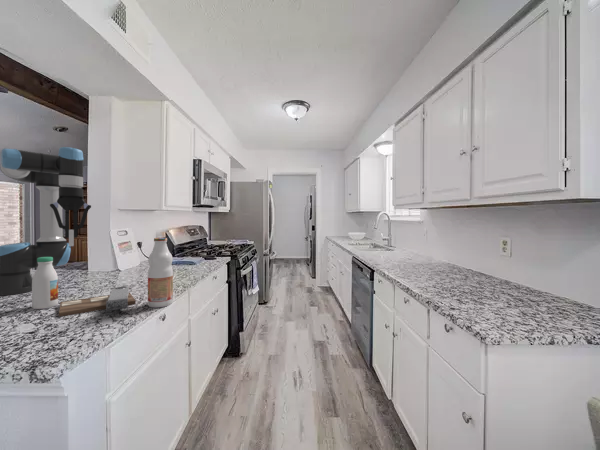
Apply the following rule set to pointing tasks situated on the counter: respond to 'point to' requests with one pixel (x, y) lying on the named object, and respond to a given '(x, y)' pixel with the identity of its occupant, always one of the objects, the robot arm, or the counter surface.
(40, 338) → the counter surface
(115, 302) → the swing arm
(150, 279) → the fruit juice
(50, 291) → the milk bottle
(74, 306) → the label board
